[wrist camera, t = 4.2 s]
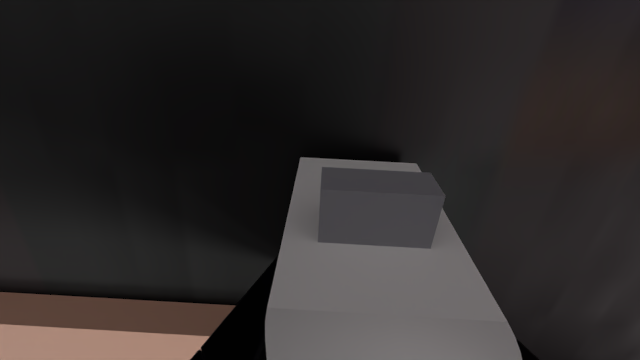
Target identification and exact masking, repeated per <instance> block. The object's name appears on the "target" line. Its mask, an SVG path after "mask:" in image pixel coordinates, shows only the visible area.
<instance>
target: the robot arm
mask: <svg viewBox="0 0 640 360" xmlns="http://www.w3.org/2000/svg"><path fill="white" fill-rule="evenodd" d="M278 256H279V255H278ZM278 256H277V257H276V259H275V260H274V261H273V262H272V263H271V264H270V266H269V267H268V268H267V269H266V270H265V272H264V273H263V274H262V275H261V276H260V278H259V279H258V280H257V281H256V282H255V283H254V285H253V286H252V287H251V288H250V289H249V291H248V292H247V293H246V294H245V295H244V297H243V298H242V299H241V300H240V301H239V302H238V304H237V305H236V306H235V307H234V308H233V310H232V311H231V312H230V313H229V314H228V316H227V317H226V318H225V319H224V320H223V321H222V323H221V324H220V325H219V326H218V327H217V329H216V330H215V331H214V332H213V333H212V334H211V336H210V337H209V338H208V339H207V340H206V342H205V343H204V344H203V345H202V346H201V350H198V351H197V352H196V353H195V354H194V356H193V357H192V358H191V359H190V360H267V358H266V343H265V318H266V311H267V306H268V301H269V297H270V292H271V288H272V283H273V279H274V274H275V270H276V265H277V261H278ZM516 341H517V344H518V346H519V349H520V352H521V356H522V360H539V359H538V358H537V357H536V356H535V355H534V354H532V353H531V352H530V351H529V350H528V349H527V348H526V347H525V346H524V345H523V344H522V343H521V342H520V341H519V340H517V339H516Z"/></svg>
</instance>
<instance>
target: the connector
mask: <svg viewBox="0 0 640 360" xmlns="http://www.w3.org/2000/svg"><path fill="white" fill-rule="evenodd" d="M445 197H446V196H445V195H444V193H443V191H442V190H441V188H440V187H439V185H438V183H437V182H436V180H435V179H434V177H433V176H432V174H431V173H425V172H421V171H420V169H419V167H418V165H417V164H416V163H398V162H380V161H361V160H343V159H324V158H306V157H300V162H299V166H298V171H297V175H296V180H295V184H294V189H293V193H292V198H291V202H290V207H289V211H288V216H287V220H286V225H285V229H284V234H283V238H282V243H281V247H280V252H279V256H278V261H277V265H276V270H275V274H274V279H273V283H272V288H271V292H270V297H269V301H268V306H267V311H266V318H265V343H266V358H267V360H522V356H521V352H520V349H519V346H518V344H517V341H516V338H515V336H514V334H513V332H512V330H511V328H510V326H509V324H508V322H507V320H506V318H505V317H504V315H503V313H502V311H501V310H500V308H499V306H498V304H497V303H496V301H495V299H494V297H493V296H492V294H491V292H490V290H489V289H488V287H487V285H486V284H485V282H484V280H483V278H482V277H481V275H480V273H479V271H478V270H477V268H476V266H475V264H474V263H473V261H472V259H471V257H470V256H469V254H468V252H467V251H466V249H465V247H464V245H463V244H462V242H461V240H460V238H459V237H458V235H457V233H456V231H455V230H454V228H453V226H452V224H451V223H450V221H449V219H448V217H447V216H446V214H445V212H444V211H443V209H442V207H443V204H444V200H445Z"/></svg>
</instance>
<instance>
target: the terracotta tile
mask: <svg viewBox="0 0 640 360" xmlns="http://www.w3.org/2000/svg"><path fill="white" fill-rule="evenodd" d="M234 307H235V305H218V304H200V303H183V302H165V301H148V300H131V299H113V298H96V297H79V296H61V295H44V294H27V293H9V292H0V360H190V359H191V358H192V357H193V356H194V354H195V353H196V352H197V351H198V350H201V346H202V345H203V344H204V343H205V342H206V340H207V339H208V338H209V337H210V336H211V334H212V333H213V332H214V331H215V330H216V329H217V327H218V326H219V325H220V324H221V323H222V321H223V320H224V319H225V318H226V317H227V316H228V314H229V313H230V312H231V311H232V310H233V308H234Z"/></svg>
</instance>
